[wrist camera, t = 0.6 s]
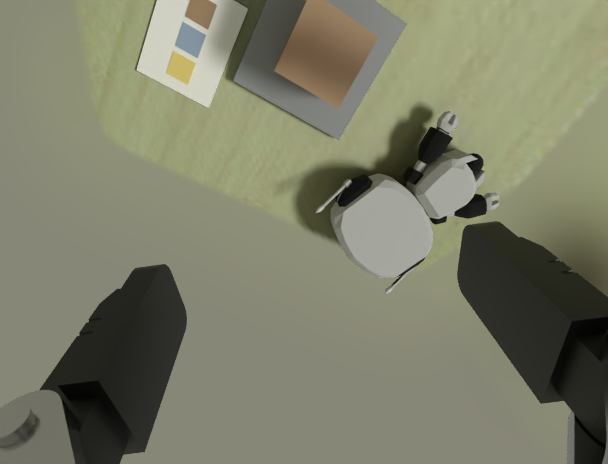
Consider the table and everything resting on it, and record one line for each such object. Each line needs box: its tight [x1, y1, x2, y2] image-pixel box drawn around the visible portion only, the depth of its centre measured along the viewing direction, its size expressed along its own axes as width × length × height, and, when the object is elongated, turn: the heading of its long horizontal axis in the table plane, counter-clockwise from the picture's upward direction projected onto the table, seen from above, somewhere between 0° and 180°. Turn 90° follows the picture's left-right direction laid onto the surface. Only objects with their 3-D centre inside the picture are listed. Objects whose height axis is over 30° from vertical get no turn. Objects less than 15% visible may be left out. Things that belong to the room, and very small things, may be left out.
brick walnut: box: [274, 0, 378, 108], centre depth 24 cm, size 5×5×5 cm
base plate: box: [233, 0, 407, 140], centre depth 27 cm, size 10×10×1 cm
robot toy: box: [316, 111, 499, 294], centre depth 32 cm, size 12×4×15 cm
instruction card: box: [137, 0, 248, 108], centre depth 26 cm, size 8×6×1 cm
